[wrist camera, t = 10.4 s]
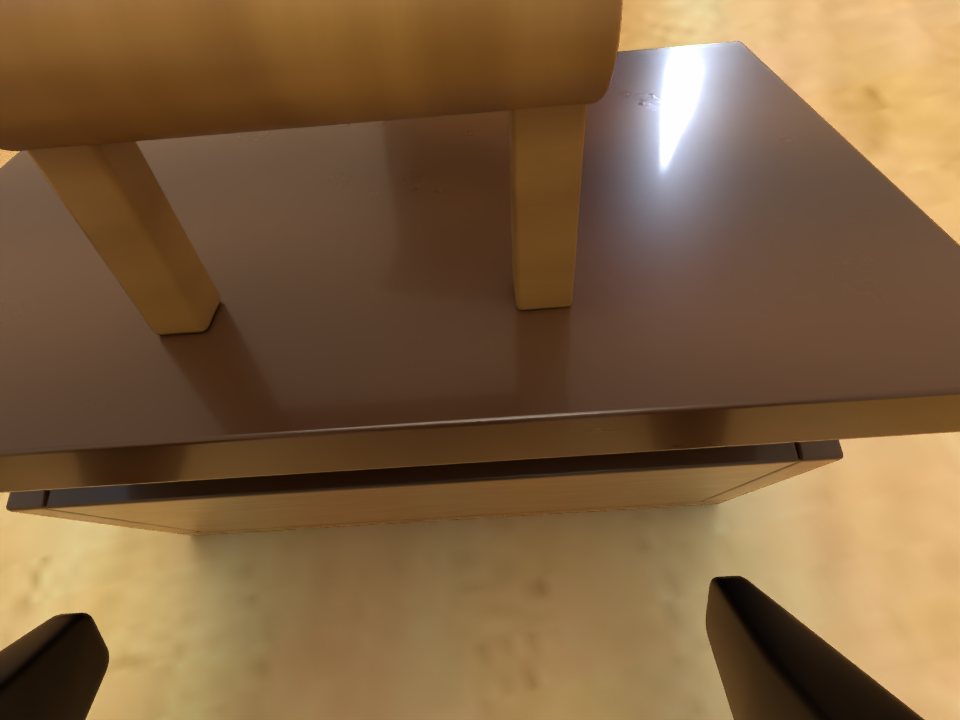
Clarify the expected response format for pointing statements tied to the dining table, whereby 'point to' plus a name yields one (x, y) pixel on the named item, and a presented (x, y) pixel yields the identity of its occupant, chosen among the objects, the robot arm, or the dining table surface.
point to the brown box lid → (435, 245)
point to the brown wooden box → (435, 490)
